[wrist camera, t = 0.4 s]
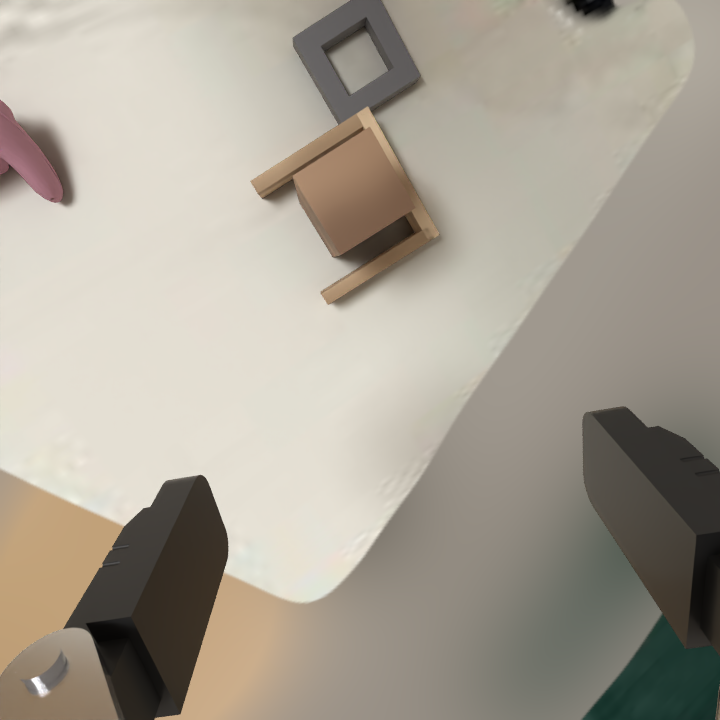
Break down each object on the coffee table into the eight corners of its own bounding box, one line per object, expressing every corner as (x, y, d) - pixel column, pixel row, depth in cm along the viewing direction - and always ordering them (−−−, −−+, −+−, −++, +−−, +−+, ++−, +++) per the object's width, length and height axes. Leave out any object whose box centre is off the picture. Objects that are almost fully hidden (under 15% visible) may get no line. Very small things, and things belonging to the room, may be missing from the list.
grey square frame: (293, 46, 31) (292, 37, 30) (370, -4, 31) (373, -15, 30) (341, 130, 33) (342, 125, 31) (416, 82, 32) (420, 75, 31)
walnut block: (299, 203, 33) (292, 175, 22) (352, 170, 33) (370, 126, 22) (332, 257, 34) (340, 255, 23) (384, 224, 34) (415, 207, 23)
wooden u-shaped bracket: (255, 187, 33) (250, 181, 30) (363, 117, 33) (367, 106, 30) (327, 301, 35) (328, 304, 32) (430, 236, 34) (439, 234, 32)
